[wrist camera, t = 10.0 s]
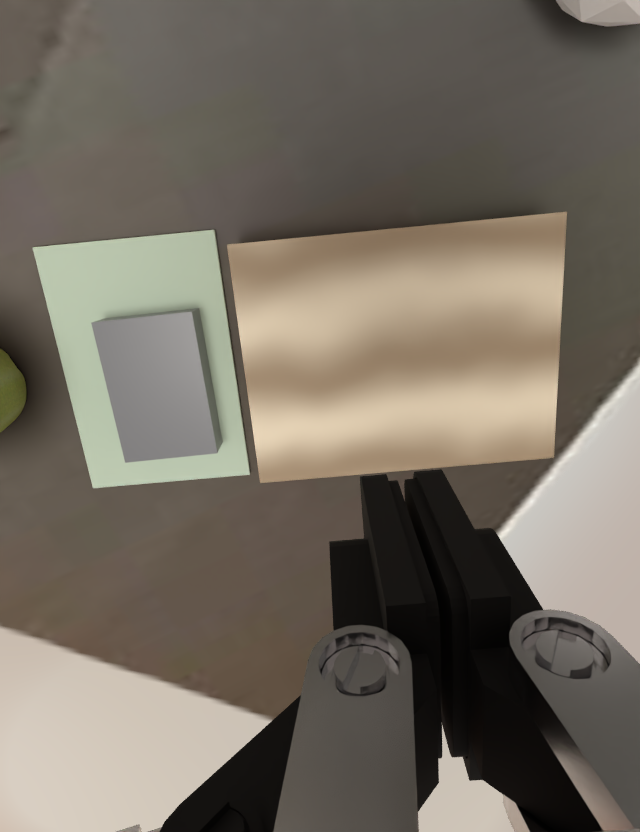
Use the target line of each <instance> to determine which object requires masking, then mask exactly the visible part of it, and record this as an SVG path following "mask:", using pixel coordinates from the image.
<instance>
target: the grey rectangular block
mask: <svg viewBox="0 0 640 832" xmlns="http://www.w3.org/2000/svg"><path fill="white" fill-rule="evenodd" d="M91 324H92V328H93V332H94V336H95V341H96V345H97V349H98V353H99V357H100V361H101V365H102V369H103V373H104V378H105V382H106V386H107V390H108V394H109V398H110V402H111V406H112V410H113V415H114V419H115V423H116V427H117V431H118V435H119V439H120V443H121V448H122V452H123V456H124V460H125V463H128V462H137V461H147V460H157V459H167V458H177V457H186V456H196V455H206V454H216V453H218V451H219V449H220V447H221V445H222V443H223V440H222V435H221V429H220V423H219V418H218V412H217V406H216V401H215V395H214V389H213V384H212V378H211V372H210V367H209V361H208V355H207V350H206V344H205V338H204V333H203V327H202V321H201V316H200V310H199V308H195V309H185V310H176V311H167V312H158V313H149V314H140V315H131V316H122V317H113V318H104V319H101V320H98V321H95V322H92V323H91Z"/></svg>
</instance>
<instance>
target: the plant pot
mask: <svg viewBox="0 0 640 832" xmlns="http://www.w3.org/2000/svg"><path fill="white" fill-rule="evenodd" d="M26 394H27V392H26V383H25V379H24V377H23V375H22V373H21V372H20V371H19V370H18V368H17V367H16V366H15V364H14V363H13V361H12V360H11V359H10V357H9V355H8V354H7V353H6V352H4V351H3V350H2V349H0V433H1V432H2V431H3V430H4V429H5V428H6V427H8V426H9V425H10V424H11V423H12V422H13V421H14V420H16V418H17V417H18V416H19V415H20V413H21V412H22V410H23V408H24V405H25V402H26Z"/></svg>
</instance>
